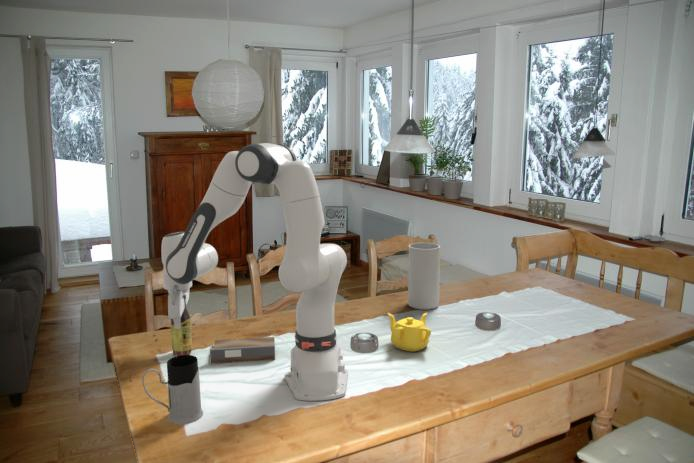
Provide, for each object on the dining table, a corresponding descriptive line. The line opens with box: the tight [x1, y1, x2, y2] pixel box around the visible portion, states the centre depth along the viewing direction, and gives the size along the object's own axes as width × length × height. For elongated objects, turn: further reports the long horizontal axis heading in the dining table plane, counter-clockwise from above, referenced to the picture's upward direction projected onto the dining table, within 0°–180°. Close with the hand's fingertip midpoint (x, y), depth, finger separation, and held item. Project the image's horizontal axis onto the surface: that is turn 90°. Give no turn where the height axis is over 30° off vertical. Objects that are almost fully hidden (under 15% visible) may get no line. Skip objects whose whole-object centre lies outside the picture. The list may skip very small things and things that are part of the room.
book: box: [210, 336, 276, 365], centre depth 186 cm, size 16×20×2 cm
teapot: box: [387, 312, 432, 352], centre depth 189 cm, size 14×13×10 cm
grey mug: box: [141, 354, 204, 425], centre depth 143 cm, size 9×14×15 cm, turn 107°
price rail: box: [209, 345, 276, 360], centre depth 178 cm, size 2×20×3 cm, turn 98°
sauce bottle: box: [170, 294, 193, 357], centre depth 183 cm, size 6×6×20 cm
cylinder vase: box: [407, 242, 441, 311], centre depth 229 cm, size 12×12×25 cm
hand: (180, 322), depth 183 cm, fingers open, 8 cm apart
